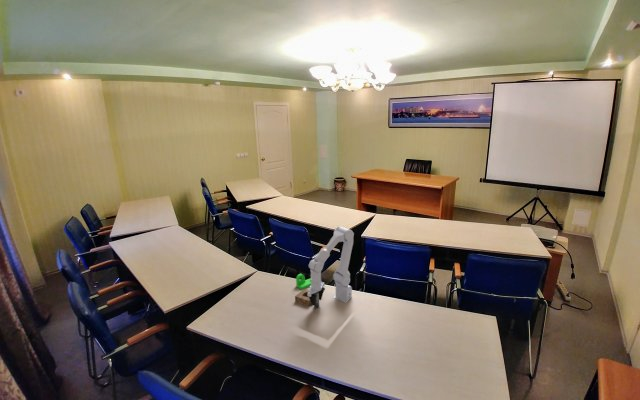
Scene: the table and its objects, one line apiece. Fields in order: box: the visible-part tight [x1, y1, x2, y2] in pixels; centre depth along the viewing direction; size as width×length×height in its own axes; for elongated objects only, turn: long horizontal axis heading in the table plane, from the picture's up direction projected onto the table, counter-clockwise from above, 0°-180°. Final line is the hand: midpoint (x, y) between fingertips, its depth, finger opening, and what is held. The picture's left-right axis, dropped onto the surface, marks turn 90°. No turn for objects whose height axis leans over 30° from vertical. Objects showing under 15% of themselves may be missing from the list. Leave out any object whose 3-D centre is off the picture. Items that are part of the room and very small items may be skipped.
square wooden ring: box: [294, 288, 312, 307], centre depth 171 cm, size 10×10×4 cm
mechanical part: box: [295, 273, 311, 291], centre depth 188 cm, size 12×6×8 cm, turn 127°
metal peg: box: [313, 292, 320, 309], centre depth 163 cm, size 3×3×9 cm
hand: (316, 302), depth 164 cm, fingers open, 6 cm apart
